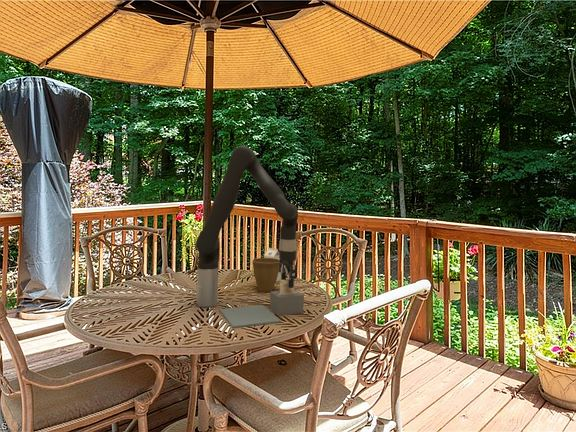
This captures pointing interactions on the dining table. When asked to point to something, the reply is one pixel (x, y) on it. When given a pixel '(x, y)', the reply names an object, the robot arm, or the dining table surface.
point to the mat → (249, 316)
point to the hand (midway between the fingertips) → (287, 285)
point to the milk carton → (273, 254)
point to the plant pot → (265, 273)
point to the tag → (285, 286)
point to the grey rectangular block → (286, 302)
